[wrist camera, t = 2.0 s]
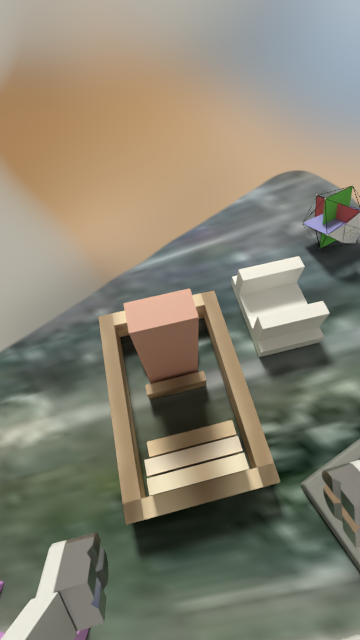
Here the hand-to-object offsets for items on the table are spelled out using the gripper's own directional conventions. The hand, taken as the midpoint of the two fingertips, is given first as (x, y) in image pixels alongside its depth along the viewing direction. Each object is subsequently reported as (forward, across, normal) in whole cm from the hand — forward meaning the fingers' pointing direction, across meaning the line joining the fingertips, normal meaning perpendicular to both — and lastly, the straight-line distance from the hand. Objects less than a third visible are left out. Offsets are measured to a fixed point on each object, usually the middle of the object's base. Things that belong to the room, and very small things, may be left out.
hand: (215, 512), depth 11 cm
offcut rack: (+20, 0, +7) cm, 22 cm away
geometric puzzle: (+32, -24, -4) cm, 40 cm away
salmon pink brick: (+22, 0, +5) cm, 23 cm away
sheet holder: (+25, -13, +2) cm, 28 cm away
